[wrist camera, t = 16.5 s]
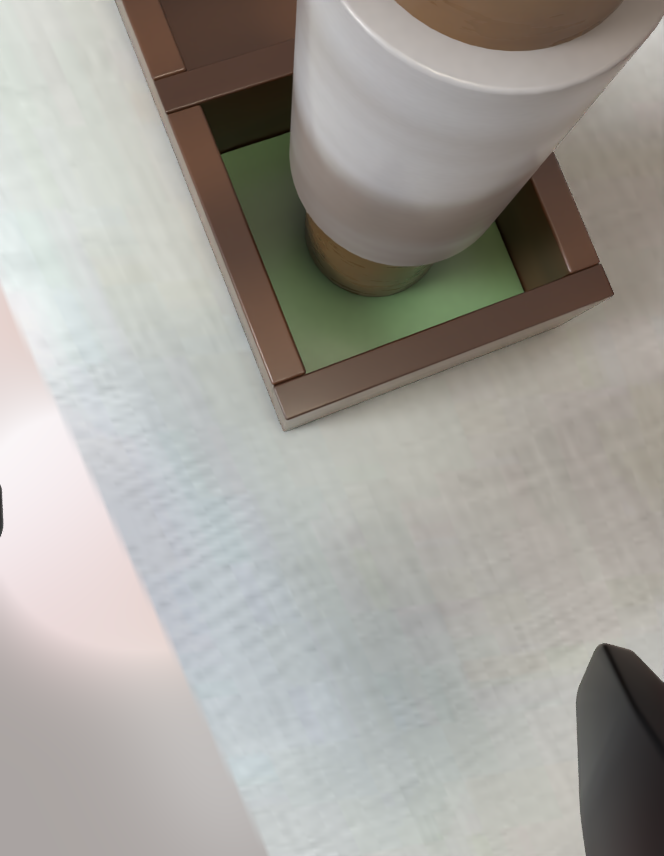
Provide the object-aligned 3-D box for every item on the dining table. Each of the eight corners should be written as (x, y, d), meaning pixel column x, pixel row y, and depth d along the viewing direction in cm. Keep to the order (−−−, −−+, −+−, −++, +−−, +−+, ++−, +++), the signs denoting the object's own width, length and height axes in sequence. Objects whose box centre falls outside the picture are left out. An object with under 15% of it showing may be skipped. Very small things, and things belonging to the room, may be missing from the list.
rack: (559, 325, 21) (615, 294, 18) (283, 432, 20) (286, 421, 17) (352, -169, 22) (367, -289, 19) (77, -96, 21) (39, -210, 18)
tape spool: (409, 347, 20) (716, 36, 6) (253, 262, 20) (210, -260, 6) (486, 201, 21) (917, -374, 7) (336, 117, 21) (471, -652, 7)
